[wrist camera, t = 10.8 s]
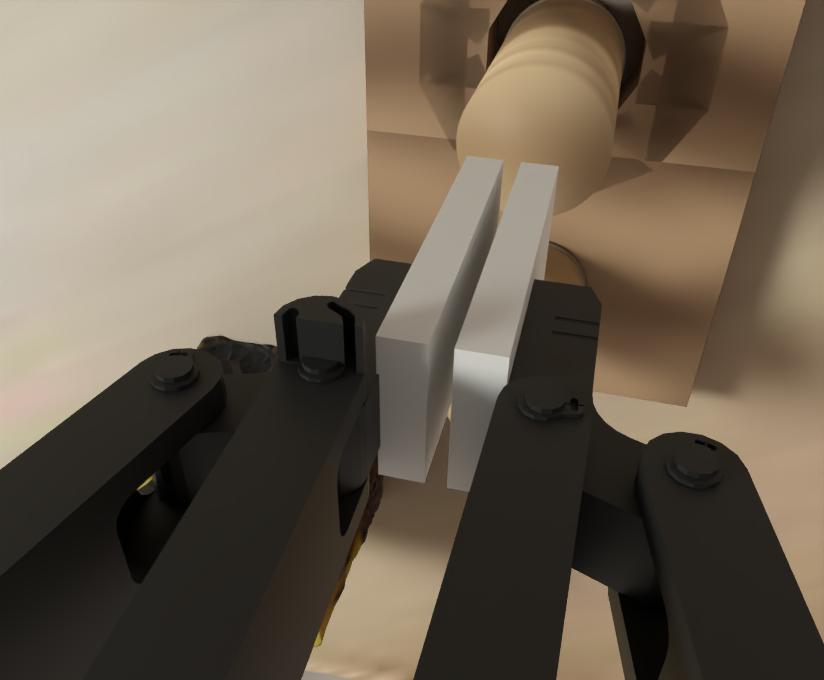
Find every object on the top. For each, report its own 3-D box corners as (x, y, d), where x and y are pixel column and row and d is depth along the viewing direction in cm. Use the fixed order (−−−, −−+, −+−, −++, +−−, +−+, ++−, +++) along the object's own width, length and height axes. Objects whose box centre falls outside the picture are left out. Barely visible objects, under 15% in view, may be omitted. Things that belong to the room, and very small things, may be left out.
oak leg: (516, -24, 27) (457, 58, 19) (637, -15, 26) (628, 73, 18) (506, 94, 29) (450, 210, 21) (616, 105, 28) (601, 229, 21)
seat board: (377, -241, 24) (244, -251, 16) (859, -236, 22) (975, -246, 14) (384, 330, 37) (311, 476, 29) (685, 378, 34) (693, 554, 27)
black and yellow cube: (389, 362, 38) (320, 511, 31) (386, 500, 44) (328, 654, 37) (201, 327, 40) (91, 459, 33) (223, 464, 46) (134, 603, 39)
